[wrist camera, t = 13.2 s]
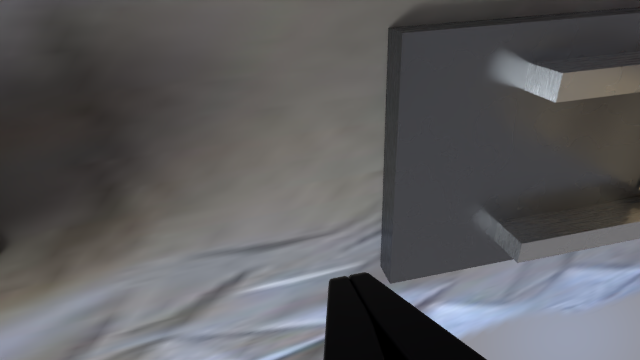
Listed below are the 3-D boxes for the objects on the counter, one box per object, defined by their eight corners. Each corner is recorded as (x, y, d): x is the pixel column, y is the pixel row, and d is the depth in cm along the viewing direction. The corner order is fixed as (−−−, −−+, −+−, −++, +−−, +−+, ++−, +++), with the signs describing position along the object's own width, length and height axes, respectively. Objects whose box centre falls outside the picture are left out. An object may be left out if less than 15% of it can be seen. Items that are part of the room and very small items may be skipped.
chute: (380, 265, 23) (404, 310, 20) (388, 28, 17) (425, 41, 14) (691, 207, 27) (750, 237, 24) (789, -5, 21) (886, -1, 18)
